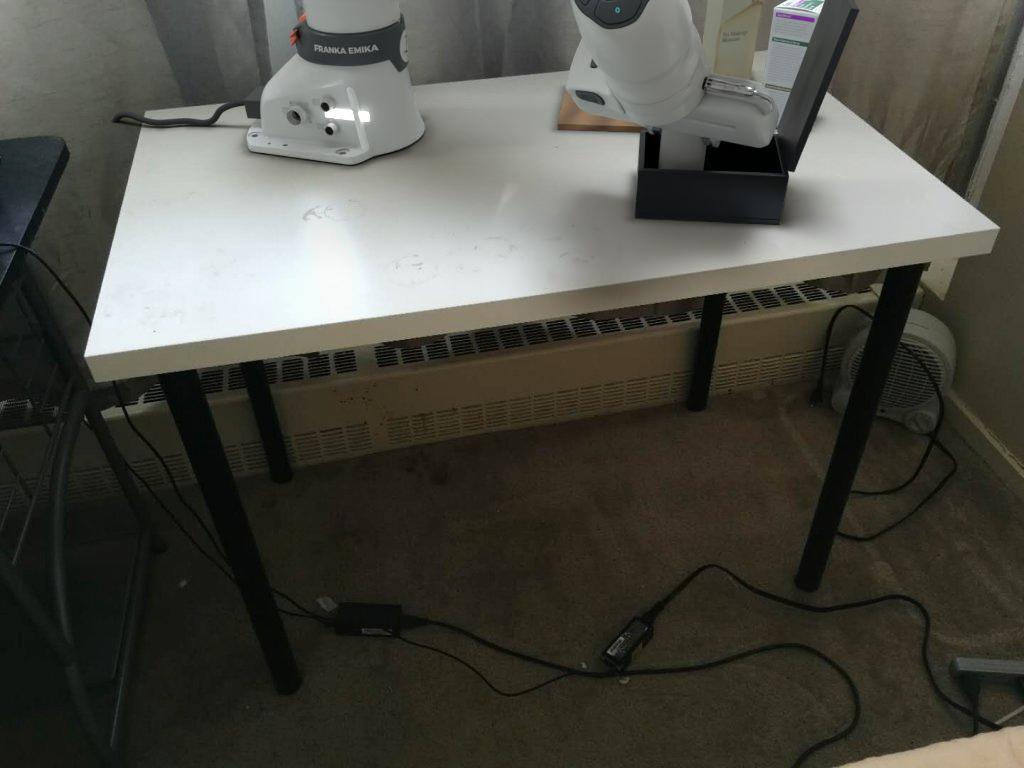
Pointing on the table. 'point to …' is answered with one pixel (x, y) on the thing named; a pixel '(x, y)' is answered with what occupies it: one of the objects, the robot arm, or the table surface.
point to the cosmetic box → (731, 36)
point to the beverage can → (681, 151)
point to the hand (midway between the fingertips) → (686, 134)
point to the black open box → (713, 184)
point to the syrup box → (788, 46)
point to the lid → (815, 77)
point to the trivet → (590, 119)
